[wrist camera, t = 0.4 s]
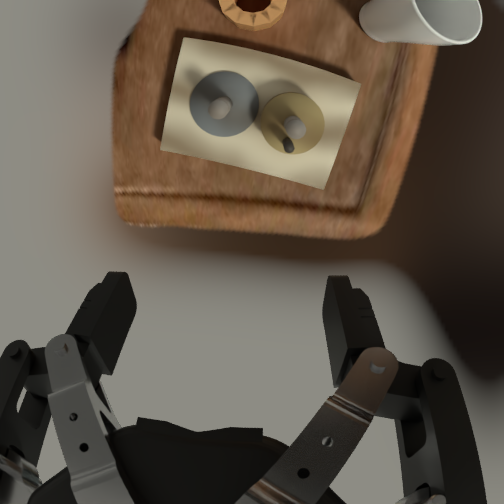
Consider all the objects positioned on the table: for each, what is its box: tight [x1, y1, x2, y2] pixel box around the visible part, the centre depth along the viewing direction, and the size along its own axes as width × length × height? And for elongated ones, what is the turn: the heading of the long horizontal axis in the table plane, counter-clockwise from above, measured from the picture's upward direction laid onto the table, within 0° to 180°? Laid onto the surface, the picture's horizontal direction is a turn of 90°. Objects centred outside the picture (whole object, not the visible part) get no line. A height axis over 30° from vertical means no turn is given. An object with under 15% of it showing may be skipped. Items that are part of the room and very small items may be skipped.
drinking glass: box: [359, 0, 482, 45], centre depth 19 cm, size 7×7×15 cm
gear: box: [219, 0, 287, 31], centre depth 23 cm, size 6×6×4 cm
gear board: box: [160, 37, 361, 190], centre depth 29 cm, size 13×19×7 cm
